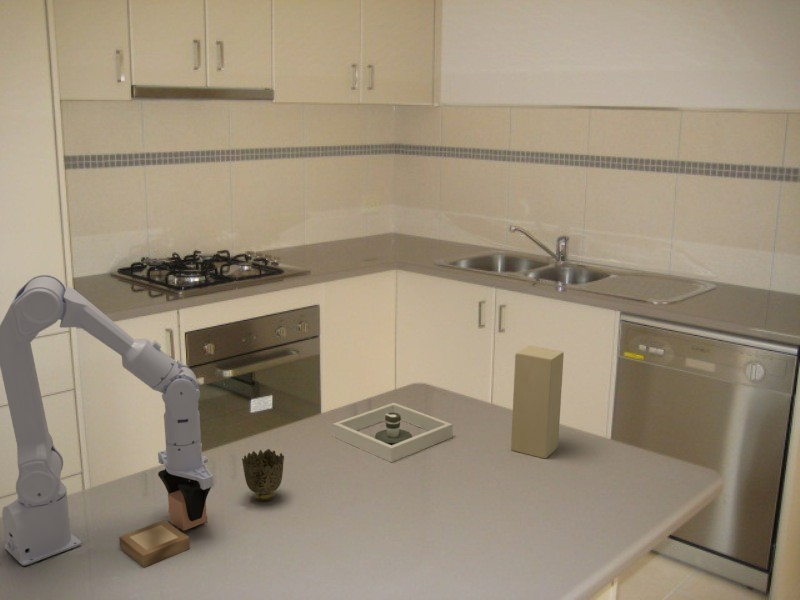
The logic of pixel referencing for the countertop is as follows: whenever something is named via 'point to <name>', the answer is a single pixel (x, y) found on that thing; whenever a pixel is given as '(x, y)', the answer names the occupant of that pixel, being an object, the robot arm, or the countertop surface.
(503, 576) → the countertop surface
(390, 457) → the cup tray
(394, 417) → the coffee cup
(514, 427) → the tan tall block
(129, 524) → the countertop surface
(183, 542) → the base slab
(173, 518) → the block
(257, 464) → the cup
